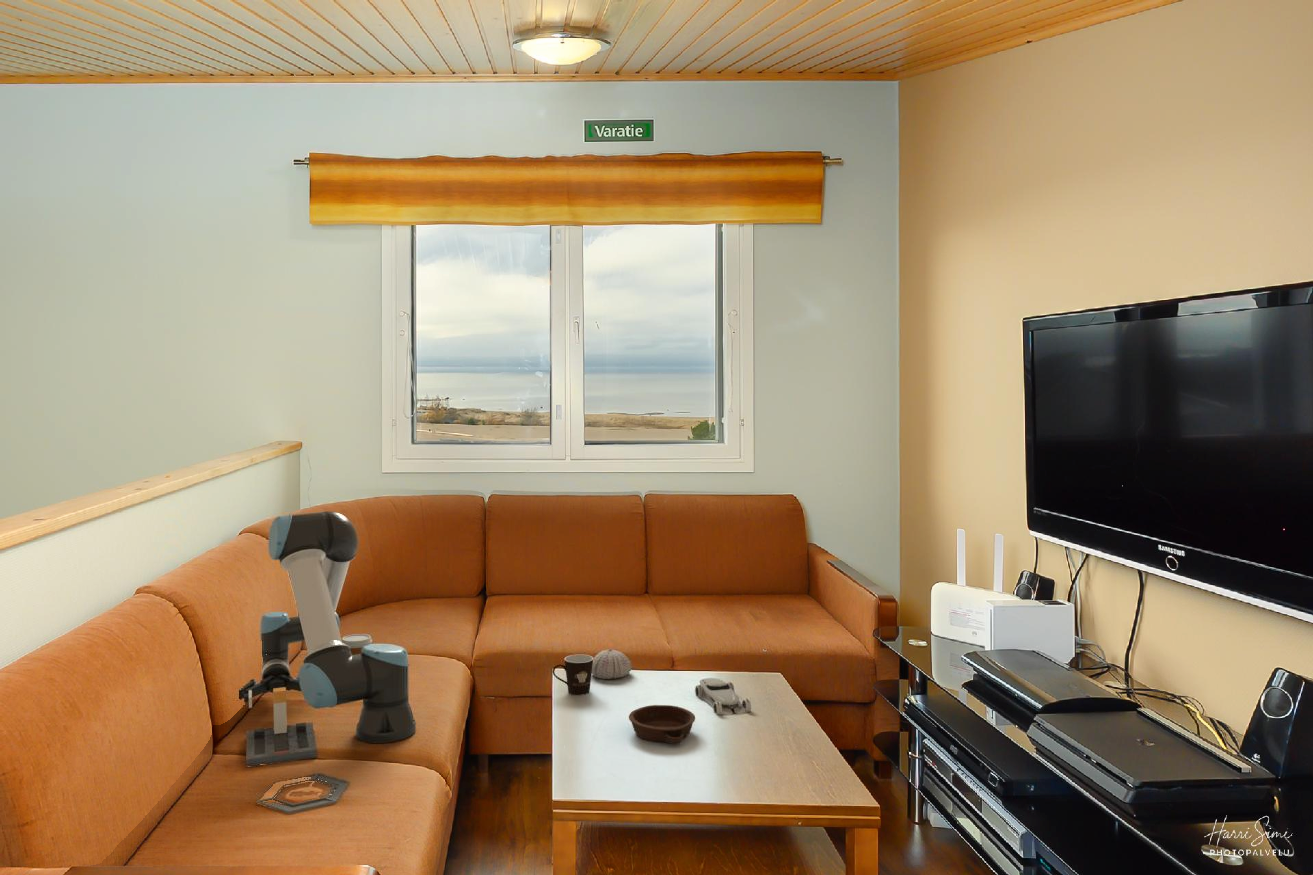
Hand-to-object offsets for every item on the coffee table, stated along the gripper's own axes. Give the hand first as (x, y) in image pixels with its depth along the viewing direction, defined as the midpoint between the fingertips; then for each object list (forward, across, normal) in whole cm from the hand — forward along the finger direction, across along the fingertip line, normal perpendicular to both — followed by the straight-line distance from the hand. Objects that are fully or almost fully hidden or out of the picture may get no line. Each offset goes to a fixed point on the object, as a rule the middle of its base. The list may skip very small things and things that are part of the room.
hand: (278, 699), depth 250 cm
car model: (+23, -119, -9) cm, 122 cm away
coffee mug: (-1, -82, -9) cm, 83 cm away
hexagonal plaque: (+42, -4, -9) cm, 43 cm away
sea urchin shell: (-12, -98, -9) cm, 99 cm away
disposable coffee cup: (-42, -24, -9) cm, 50 cm away
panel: (+12, 0, -9) cm, 15 cm away
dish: (+40, -93, -9) cm, 102 cm away
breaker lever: (+6, 0, -6) cm, 9 cm away
